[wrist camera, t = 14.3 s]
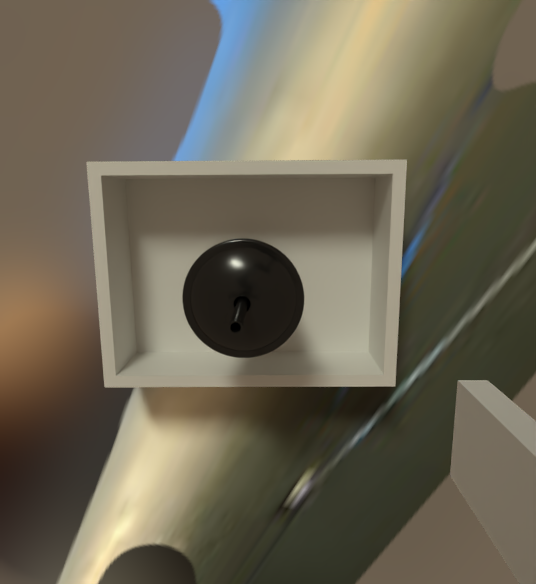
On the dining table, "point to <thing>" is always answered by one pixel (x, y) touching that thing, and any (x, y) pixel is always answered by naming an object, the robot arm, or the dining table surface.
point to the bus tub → (260, 226)
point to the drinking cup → (243, 298)
